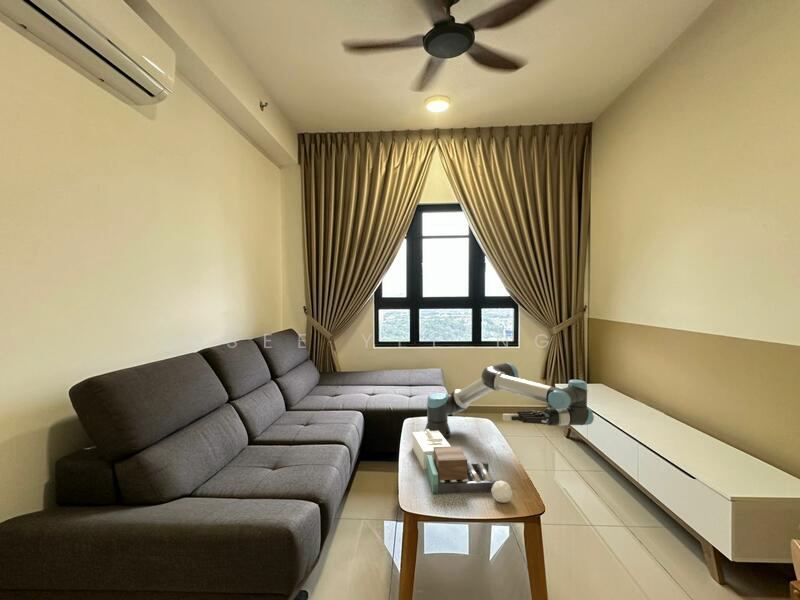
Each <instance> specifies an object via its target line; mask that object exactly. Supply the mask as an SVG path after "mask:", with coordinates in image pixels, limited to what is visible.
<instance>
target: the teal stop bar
mask: <svg viewBox="0 0 800 600" xmlns="http://www.w3.org/2000/svg"><path fill="white" fill-rule="evenodd" d="M427 465H428V466H427V467H428V468H427V469H428V471H427V469H426V474H427V477H428V480H429V483H430V489H431V492H432V494H433V495H439V494H438V491H437V489H436V487H435V486H434V484H435V485H436V486H437V488H438V485H437V484H438V473H437V470H436V467H435V464H434V461H433V458H432V455H427ZM427 472H428V473H427ZM434 487H435V489H433V488H434ZM436 493H437V494H436Z"/></svg>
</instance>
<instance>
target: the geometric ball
mask: <svg viewBox="0 0 800 600" xmlns="http://www.w3.org/2000/svg"><path fill="white" fill-rule="evenodd" d="M490 493H491V494H492V498H493V499H494V500H495V501H496V502H499V503H500V504H505V503H508V502H509V501H510V500H511V498H512V495H513V491H512V489H511V486H510V484H509V483H508V482H506V481H504V480H500V481H496V482H495V483H494V484H493V486H492V489H491V492H490Z"/></svg>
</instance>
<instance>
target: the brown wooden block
mask: <svg viewBox="0 0 800 600" xmlns="http://www.w3.org/2000/svg"><path fill="white" fill-rule="evenodd" d="M467 463H468V458H467V457H466V455H465V453H464V451H463V449H462V447H461V446H460V445H458V446H456V445H455V446H451V445H450V446H448V447H434V464H435V467H436V470H437V473H438V479H439V480H445V481H447V480H448V481H449V480H453V479H456V480H460V479H467V478H468V473H467Z"/></svg>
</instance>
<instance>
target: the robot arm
mask: <svg viewBox="0 0 800 600" xmlns="http://www.w3.org/2000/svg"><path fill="white" fill-rule="evenodd" d="M493 391H496V392H502V391H504V392H507V393H511V394H514V395H518V396H520V397H523V398H528V399H530V400H531V399H532V400H534V401H538V402H542V403H544V404H549V405H550V407H546V408H545V409H544V411H542V410H538V411H536V409H530V410H522V411H521V410H520V411H517V412H516V413H502V421H504V422H522V423H523V424H536V425H538V424H540V425H544V426H545V425H546V426H552V427H554V426H561V427H564V426H588V425H591V424H593V422H594V419H595V418H594V417H595V416H594V411H593V410H592V408H590V407H588V383H587V382H586V381H584V380H582V379H570V380H568V383H567V386H566V387H563V388H560V387H559V388H558V387H555V386H552V385H547V384H544V383H540V382H536V381H531V380H529V379H524V378H519V371H518V369H517V368H516V366H515V365H514V364H513V363H510V362H503V363H497V364H492V365H488V366H486V367H485V368H484V369H483V370H482V373H481V377H480V378H479V379H477V380H476V381H473V382H472V383H471V384H469V385H467V386H466V387H464V388H462V389H461V388H457V389H455V390H454V391H451V392H450V393H444V392H436V393H435V392H434V393H431V394H430V395H428V397H427V401H426V406H427V407H426V410H427V412H426V413H427V418H426V419H427V421H426V425H425V427H424V431H425V430H426V429H429V430H430V431H439V432H440V433H441V434H442V435H443V437H444V438H445V439H446V440H448V439H450V438H451V436H452V435H451V434H452V432H451V429H450V426H449V422H448V416H450V415H453V414H457V413H461V412H463V411H466V410H467V409H468V407H469V406H470V403H472V402H474V401H476V400H478V399H480V398H481V397H483V396H485V395H487V394H489V393H490V392H493Z"/></svg>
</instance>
